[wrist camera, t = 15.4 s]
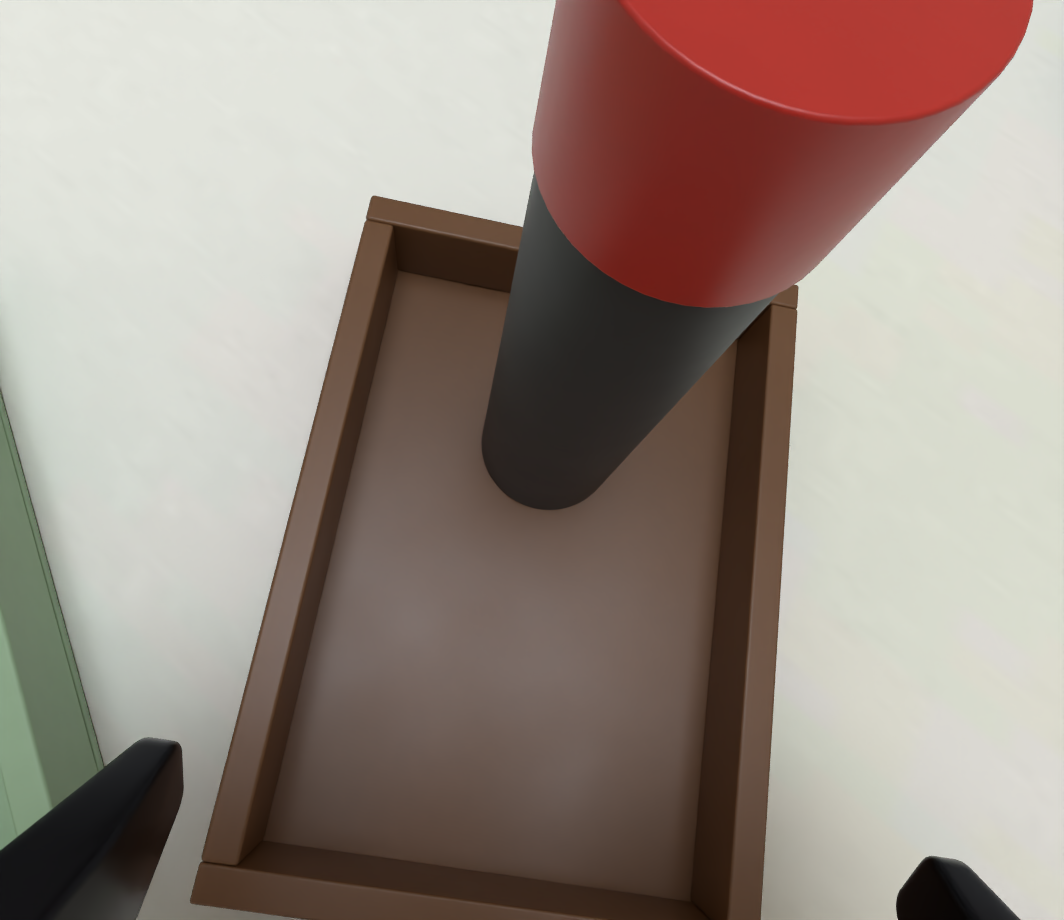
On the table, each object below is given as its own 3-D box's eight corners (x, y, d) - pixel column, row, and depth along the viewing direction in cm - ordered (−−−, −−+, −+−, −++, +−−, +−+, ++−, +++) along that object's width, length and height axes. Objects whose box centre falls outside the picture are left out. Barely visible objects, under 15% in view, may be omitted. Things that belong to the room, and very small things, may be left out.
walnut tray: (712, 936, 17) (757, 981, 14) (225, 867, 16) (188, 904, 13) (758, 327, 21) (800, 284, 19) (379, 248, 20) (371, 193, 18)
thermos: (500, 530, 18) (676, 162, 5) (461, 398, 19) (517, -239, 6) (633, 493, 19) (1118, 77, 5) (590, 367, 20) (920, -268, 6)
